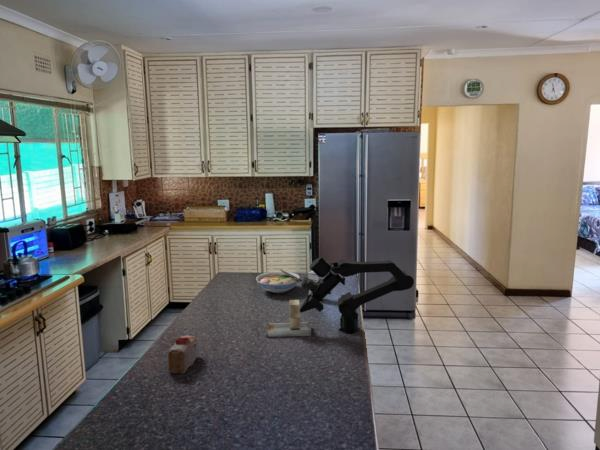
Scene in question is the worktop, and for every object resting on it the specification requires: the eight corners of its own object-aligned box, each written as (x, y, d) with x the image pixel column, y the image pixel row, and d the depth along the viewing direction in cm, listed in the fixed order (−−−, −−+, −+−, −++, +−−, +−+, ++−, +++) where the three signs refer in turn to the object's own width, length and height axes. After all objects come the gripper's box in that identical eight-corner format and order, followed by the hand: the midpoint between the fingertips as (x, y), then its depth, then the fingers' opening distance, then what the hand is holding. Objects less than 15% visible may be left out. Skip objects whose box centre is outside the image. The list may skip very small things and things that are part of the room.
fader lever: (299, 325, 187) (299, 299, 185) (300, 331, 182) (299, 304, 180) (289, 325, 187) (289, 300, 185) (290, 331, 182) (289, 304, 180)
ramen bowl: (249, 287, 242) (249, 272, 241) (288, 281, 252) (288, 267, 250) (266, 302, 220) (265, 285, 218) (308, 294, 229) (308, 279, 228)
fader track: (309, 327, 189) (309, 321, 189) (311, 335, 181) (311, 329, 181) (266, 328, 188) (266, 323, 188) (266, 337, 180) (265, 331, 180)
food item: (180, 355, 167) (178, 329, 165) (201, 355, 166) (200, 330, 164) (166, 373, 153) (164, 346, 152) (189, 374, 153) (187, 347, 151)
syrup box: (318, 302, 218) (318, 273, 215) (308, 300, 222) (308, 271, 219) (325, 299, 223) (325, 270, 220) (315, 296, 226) (315, 268, 223)
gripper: (311, 265, 190) (285, 291, 191) (314, 278, 171) (286, 306, 173) (330, 282, 191) (304, 308, 193) (335, 297, 173) (306, 325, 175)
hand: (300, 311), depth 183 cm, fingers closed, pressing on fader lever
